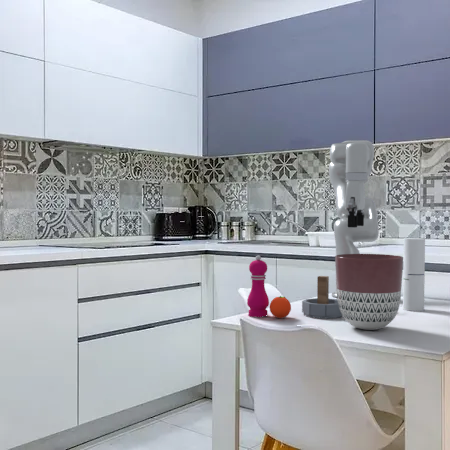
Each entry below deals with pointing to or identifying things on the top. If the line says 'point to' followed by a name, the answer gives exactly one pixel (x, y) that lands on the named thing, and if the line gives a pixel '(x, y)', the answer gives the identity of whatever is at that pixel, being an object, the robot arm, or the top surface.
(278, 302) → the clementine
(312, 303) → the grey faceted bowl
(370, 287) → the planter
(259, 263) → the pepper mill
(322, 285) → the brown wooden block
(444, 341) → the top surface
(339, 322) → the top surface
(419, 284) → the cylindrical container
